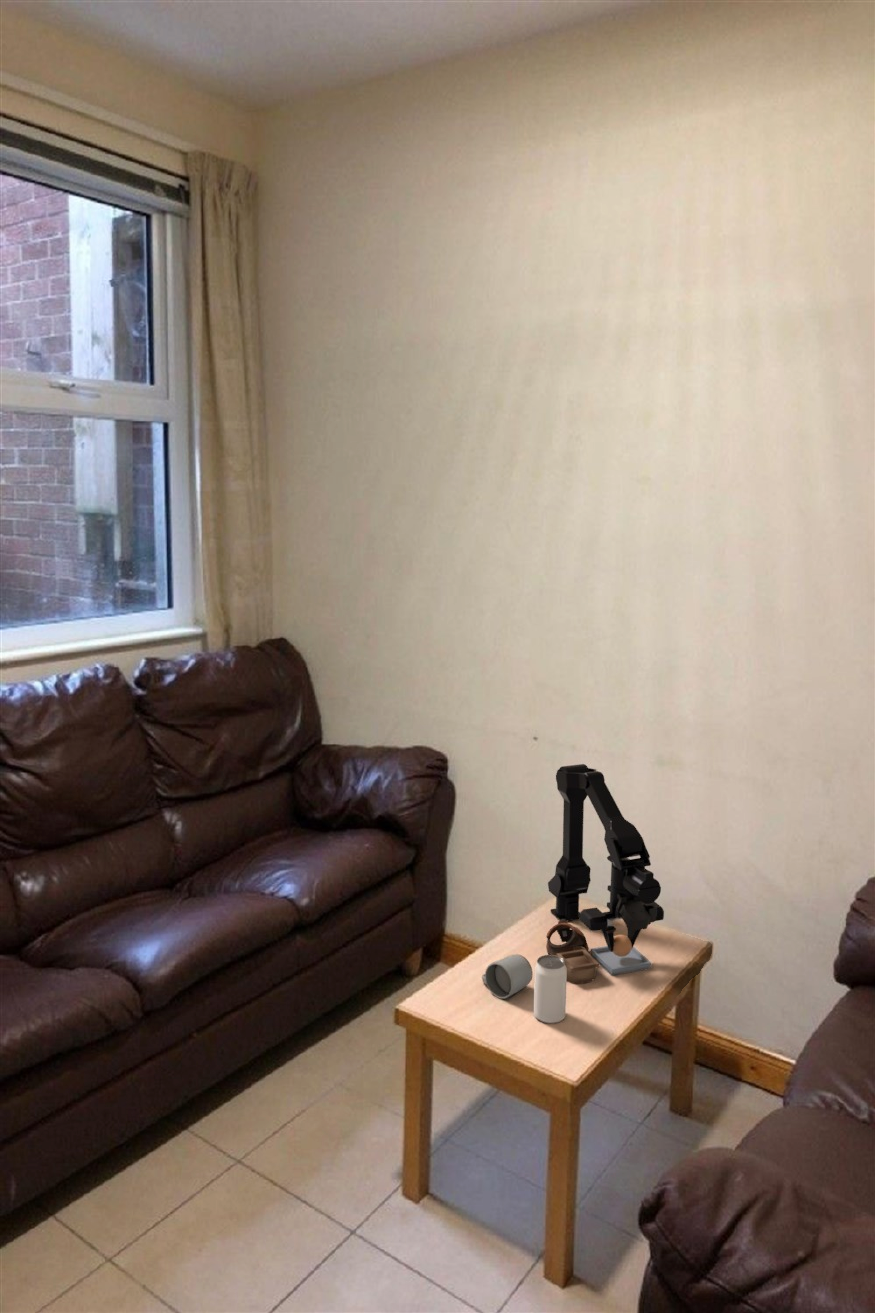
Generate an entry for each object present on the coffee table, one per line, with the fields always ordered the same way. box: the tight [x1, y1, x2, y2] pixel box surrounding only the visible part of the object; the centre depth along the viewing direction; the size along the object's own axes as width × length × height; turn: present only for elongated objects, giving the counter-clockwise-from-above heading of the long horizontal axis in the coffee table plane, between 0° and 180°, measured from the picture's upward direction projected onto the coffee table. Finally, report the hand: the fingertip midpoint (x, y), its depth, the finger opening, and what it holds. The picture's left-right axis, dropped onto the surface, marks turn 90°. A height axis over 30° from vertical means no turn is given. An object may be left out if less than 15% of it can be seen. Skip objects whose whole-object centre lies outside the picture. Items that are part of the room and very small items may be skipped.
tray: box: [589, 945, 652, 977], centre depth 213 cm, size 10×10×2 cm
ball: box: [613, 934, 632, 957], centre depth 212 cm, size 5×5×5 cm
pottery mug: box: [545, 919, 590, 956], centre depth 217 cm, size 12×10×8 cm
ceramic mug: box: [481, 953, 534, 1000], centre depth 201 cm, size 11×8×8 cm
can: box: [533, 954, 568, 1025], centre depth 190 cm, size 6×6×12 cm
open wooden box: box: [555, 948, 600, 985], centre depth 207 cm, size 8×8×4 cm
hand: (620, 949), depth 213 cm, fingers closed on ball, 5 cm apart
